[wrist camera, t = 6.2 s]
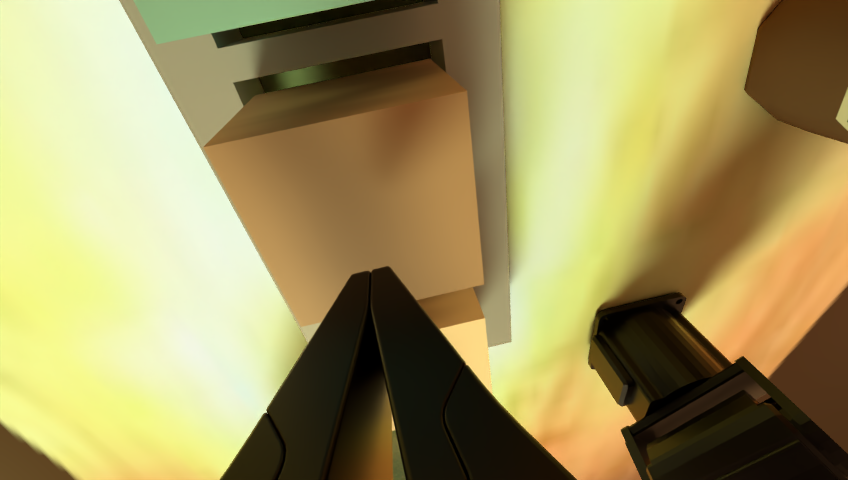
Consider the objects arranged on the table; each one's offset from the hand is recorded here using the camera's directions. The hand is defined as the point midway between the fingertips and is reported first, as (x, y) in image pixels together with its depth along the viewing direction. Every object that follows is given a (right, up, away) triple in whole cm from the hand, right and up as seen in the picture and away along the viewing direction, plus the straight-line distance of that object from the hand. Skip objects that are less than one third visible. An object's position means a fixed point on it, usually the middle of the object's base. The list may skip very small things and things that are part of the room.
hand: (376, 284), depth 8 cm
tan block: (-1, +4, +6) cm, 7 cm away
